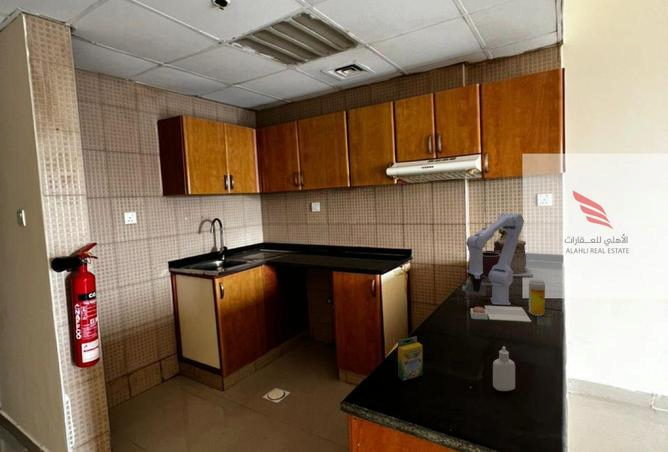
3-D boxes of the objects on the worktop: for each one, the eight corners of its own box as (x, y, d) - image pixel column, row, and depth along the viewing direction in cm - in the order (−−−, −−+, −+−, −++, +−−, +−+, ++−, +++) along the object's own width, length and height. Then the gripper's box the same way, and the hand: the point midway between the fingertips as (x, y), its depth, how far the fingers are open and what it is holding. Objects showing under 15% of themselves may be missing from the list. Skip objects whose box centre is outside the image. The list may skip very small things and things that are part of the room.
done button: (473, 311, 158) (473, 306, 157) (482, 311, 156) (482, 307, 156) (474, 314, 154) (474, 309, 154) (483, 314, 153) (483, 309, 153)
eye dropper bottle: (493, 382, 103) (493, 342, 102) (514, 385, 101) (515, 345, 99) (492, 389, 99) (492, 348, 98) (515, 394, 97) (515, 352, 95)
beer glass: (546, 316, 152) (547, 282, 150) (531, 316, 153) (531, 282, 151) (541, 311, 158) (541, 279, 156) (526, 311, 159) (526, 279, 157)
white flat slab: (484, 306, 168) (484, 305, 168) (521, 307, 164) (521, 307, 164) (489, 319, 151) (489, 318, 151) (531, 321, 147) (531, 321, 147)
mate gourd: (503, 280, 211) (503, 248, 210) (500, 286, 200) (500, 251, 198) (476, 278, 220) (475, 246, 218) (471, 283, 208) (471, 250, 206)
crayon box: (403, 381, 106) (402, 344, 104) (397, 376, 108) (396, 340, 107) (423, 375, 108) (422, 339, 107) (417, 371, 111) (416, 335, 110)
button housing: (470, 313, 159) (470, 308, 159) (485, 314, 157) (485, 309, 157) (471, 318, 153) (471, 313, 153) (487, 319, 151) (487, 313, 151)
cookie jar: (526, 269, 238) (527, 222, 235) (534, 278, 215) (534, 226, 212) (487, 268, 246) (486, 222, 243) (490, 276, 223) (490, 226, 220)
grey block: (462, 292, 168) (462, 282, 168) (484, 293, 165) (484, 283, 165) (462, 294, 165) (462, 284, 165) (485, 295, 162) (485, 285, 162)
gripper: (465, 258, 172) (466, 285, 173) (467, 264, 158) (468, 294, 159) (481, 258, 169) (481, 286, 171) (484, 264, 156) (485, 294, 157)
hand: (476, 290), depth 165 cm, fingers closed on grey block, 3 cm apart
